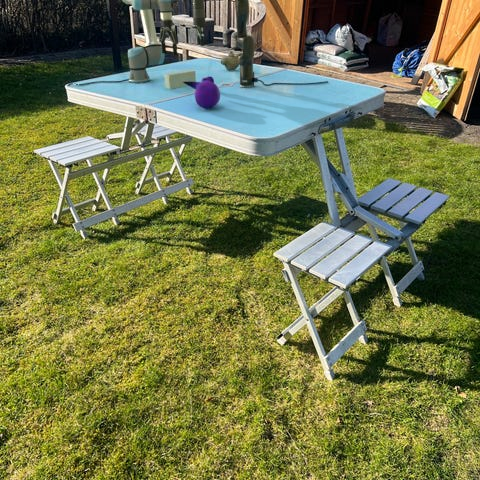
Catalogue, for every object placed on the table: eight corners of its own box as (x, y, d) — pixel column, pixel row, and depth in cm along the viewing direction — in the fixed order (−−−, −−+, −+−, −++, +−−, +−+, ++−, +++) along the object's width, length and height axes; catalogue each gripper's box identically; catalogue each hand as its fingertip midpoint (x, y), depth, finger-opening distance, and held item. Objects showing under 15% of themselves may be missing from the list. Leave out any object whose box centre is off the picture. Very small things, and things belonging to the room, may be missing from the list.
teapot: (224, 72, 363) (223, 52, 355) (217, 70, 371) (216, 51, 364) (246, 69, 372) (246, 50, 364) (239, 67, 380) (239, 48, 373)
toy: (207, 99, 283) (220, 114, 262) (180, 94, 275) (191, 110, 255) (213, 74, 275) (226, 87, 254) (185, 68, 267) (197, 82, 247)
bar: (170, 89, 313) (168, 75, 308) (165, 88, 316) (164, 74, 311) (196, 84, 325) (195, 70, 321) (191, 83, 329) (190, 69, 324)
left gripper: (182, 20, 289) (184, 55, 299) (161, 18, 305) (164, 51, 316) (172, 21, 285) (175, 56, 295) (151, 19, 301) (155, 53, 312)
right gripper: (207, 17, 273) (209, 46, 281) (202, 15, 284) (203, 43, 293) (195, 17, 271) (197, 46, 279) (190, 16, 283) (192, 44, 291)
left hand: (169, 54), depth 306 cm, fingers open, 13 cm apart
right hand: (200, 45), depth 286 cm, fingers open, 8 cm apart
